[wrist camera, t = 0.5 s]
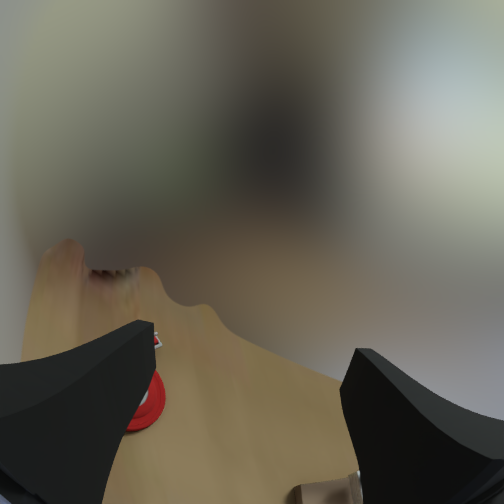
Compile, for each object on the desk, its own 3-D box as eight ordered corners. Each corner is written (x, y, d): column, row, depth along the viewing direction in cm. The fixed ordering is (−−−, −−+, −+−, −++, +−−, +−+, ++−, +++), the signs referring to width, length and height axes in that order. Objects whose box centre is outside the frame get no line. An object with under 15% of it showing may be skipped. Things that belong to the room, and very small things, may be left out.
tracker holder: (178, 430, 20) (69, 422, 15) (165, 434, 22) (71, 426, 17) (166, 319, 28) (77, 301, 23) (156, 335, 30) (76, 321, 25)
